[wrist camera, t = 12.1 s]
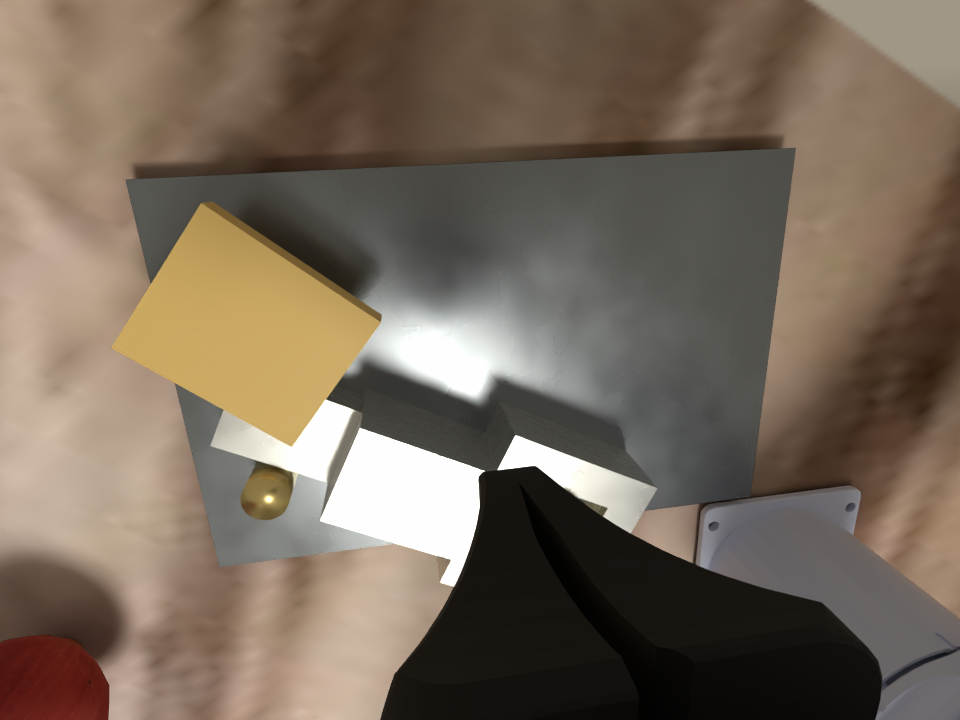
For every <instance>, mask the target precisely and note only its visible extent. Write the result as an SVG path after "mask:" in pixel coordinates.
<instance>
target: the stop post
mask: <svg viewBox="0 0 960 720" xmlns="http://www.w3.org/2000/svg"><path fill="white" fill-rule="evenodd" d="M297 476H298V473H295V472H292V471H289V470H285V469H282V468H279V467H276V466H273V465H270V464H266V463H263V462H260V461H257V462H256V464H255V466H254V468H253V470H252V473H251V475H250V477H249V479H248V481H247V483H246V485H245V487H244V489H243V491H242V494H241V497H240V502H241V506H242V508H243V510H244V511H245V512H246V513H247V514H248V515H249V516H251V517H253V518H255V519H259V520H272V519H275V518H277V517H279V516H281V515H282V514H283V513H284V512H285V511H286V509H287V507H288V504H289V501H290V498H291V495H292V492H293V489H294V486H295V482H296V479H297Z"/></svg>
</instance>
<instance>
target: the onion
mask: <svg viewBox="0 0 960 720" xmlns="http://www.w3.org/2000/svg"><path fill="white" fill-rule="evenodd" d="M108 715H109V684H108V682H107V680H106V678H105V676H104V674H103V672H102V670H101V668H100V667H99V665H98V663H97V662H96V660H95V659H94V658H93V657H92V656H91V655H89V654H88V653H87V652H86V651H85V650H84V648H83V647H82V645H81V644H80V643H79V642H78V641H76V640H74V639H70V638H62V637H58V636H52V635H38V636H27V637H21V638H15V639H10V640H5V641H3V642H1V643H0V720H108Z"/></svg>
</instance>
